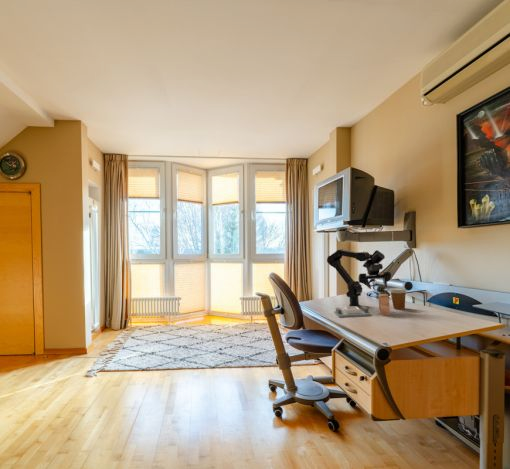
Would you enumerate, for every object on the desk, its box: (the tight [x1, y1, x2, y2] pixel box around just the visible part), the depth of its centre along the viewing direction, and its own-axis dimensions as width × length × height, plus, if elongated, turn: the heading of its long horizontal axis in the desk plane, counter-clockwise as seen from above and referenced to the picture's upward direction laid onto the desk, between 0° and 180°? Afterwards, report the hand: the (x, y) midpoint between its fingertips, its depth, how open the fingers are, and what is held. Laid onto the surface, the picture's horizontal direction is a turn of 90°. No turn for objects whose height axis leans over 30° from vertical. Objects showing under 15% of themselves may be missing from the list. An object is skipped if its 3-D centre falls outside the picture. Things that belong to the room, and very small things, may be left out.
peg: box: [377, 293, 391, 316], centre depth 202 cm, size 4×4×11 cm
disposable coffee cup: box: [389, 287, 407, 310], centre depth 216 cm, size 10×10×12 cm
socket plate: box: [334, 306, 372, 318], centre depth 207 cm, size 14×18×4 cm
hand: (378, 288), depth 210 cm, fingers open, 9 cm apart
